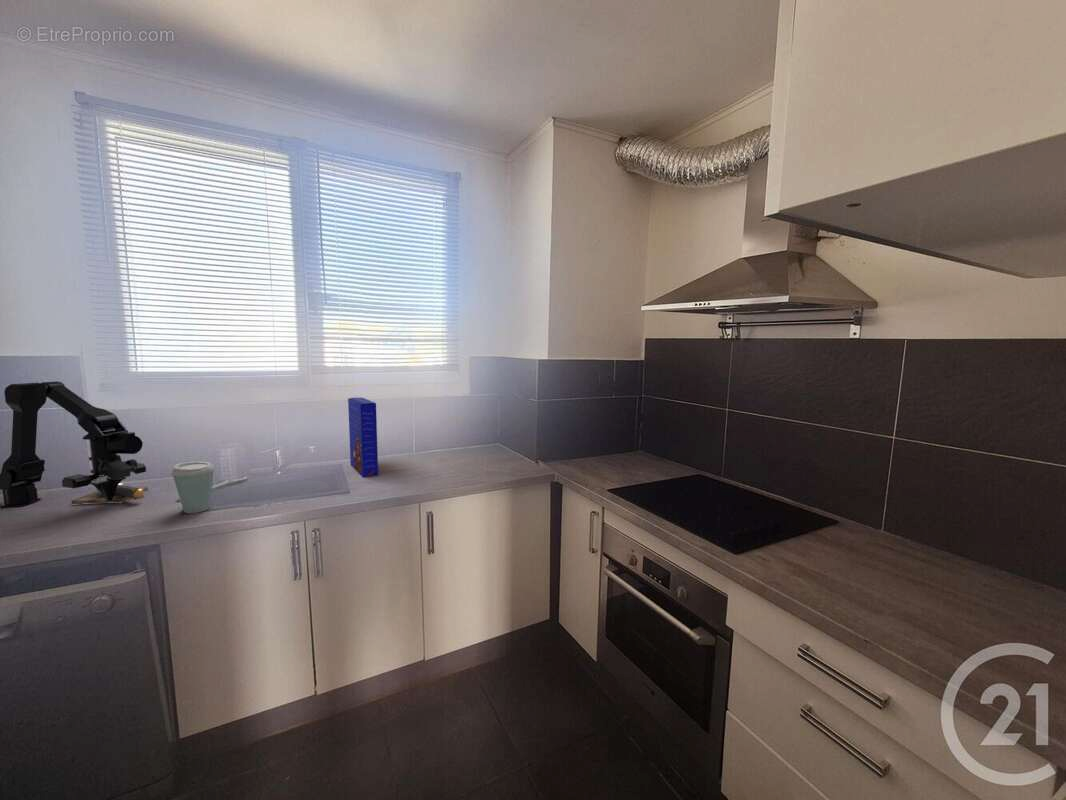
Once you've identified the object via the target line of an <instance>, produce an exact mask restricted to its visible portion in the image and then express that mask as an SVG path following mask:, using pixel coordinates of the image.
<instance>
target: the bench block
mask: <svg viewBox="0 0 1066 800" xmlns="http://www.w3.org/2000/svg"><path fill="white" fill-rule="evenodd" d="M136 488H143V492H145V491H147V492H149V487H148V486H142V487H141V486H140V487H136ZM145 493H146V492H145ZM128 499H130V498H129V497H124V496H120V495H115V494H114V496H113V499H112V500H111V501H107V500H106V499H105V498H104V496H97V494H96V490H95V491H93V492H91V493H88V494H85V495H83V496H79V497H78V498H75V499H73V500H71V505H72V504H83V503H108V502H124V501H126V500H128ZM130 500H131V499H130ZM128 501H129V500H128ZM126 502H127V501H126ZM124 503H125V502H124Z"/></svg>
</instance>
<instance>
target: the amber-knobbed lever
mask: <svg viewBox="0 0 1066 800" xmlns="http://www.w3.org/2000/svg"><path fill="white" fill-rule="evenodd" d="M95 491H96V494H97V496H103V495H102V494H101V493H100V491H99V490H98V489H97V488H96V487H95ZM115 495H120V496H124V497H129V498H132V499H133V500H140V499H144V498H145V493H143V488H136V487H135V486H130V485H127V484H126V482H125V481H124V480H122V481H121V482H120V483H119V484H118V486H117V488H116V491H115Z"/></svg>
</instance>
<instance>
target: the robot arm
mask: <svg viewBox="0 0 1066 800" xmlns="http://www.w3.org/2000/svg"><path fill="white" fill-rule="evenodd" d="M3 392H4V399H5V403H6V405H7V406H8V407H9V408H10V409H11V410H12V427H11V428H12V430H11V450H10V453H11V454H10V455H9V457H8V458H7V459H6V460H5V461H4V462H3V463H2V467H1V471H0V490H2V496H3V504H0V508H14V507H15V506H17V507H25V506H28V505H30V504H32V502H33V503H35V501H36V502H38V500H39V501H41V500H42V497H39V496H38V489H37V487H36V485H35V483H39V482H41V480H42V476H43V473H44V472H45V471H46V469H45V464H46V463H45V462H46V461H45V459H41V458H40V457H39V456H38V455H37V454H36V449H37V431H38V415H39V412H38V411H40V409H42V407H43V406H44V405H45V404H46V402H47V398H48V399H49V400H51V401H53V402H54V403H55V404H57V405H58V406H60V407H61V408H62V409H64V410H65V411H66V412H68V413H70V414H71V415H72V416H73V417H75V418H76V419H77V424H78V425H79V427H81V428H82V430H84V431H85V432H87V434H86V435H84V436H82V440H85V441H86V440H87V441H88V440H89V446H90V447H89V448H90V455H91V456H88V460H89V461H91V464H92V469H90V474H89V475H86V474H73V475H68V476H64V477H63V479H62V481H61V484H62V485H61V486H62V487H63V488H69V489H78V488H82V487H87V486H89V485H92V486H93V487H94V488H95V489H96V488H97V489H98V490H99V491H100V493H101V494H102V495H103V496H104V498H105V499H106V500H107V501H111V500H112V499H113V496H114V494H115V491H116V488H117V486H118V484H119V483H120V482H121V481H124V480H126V478H128V477H130V476H131V473H132V474H133V473H134V474H135V475H139V474H142V473H146V472H147V466H146V465H145V464H144V463H140V462H138V461H137V460H136V459H135V458H134V459H128V460H125V461H123V460H122V457H121V454H122V455H135V454H137V453H139V452H140V451H141V450H142V448H143V443H144V442H143V440H142V438H140V437H139V436H137V435H136V432H135V431H128V429H127V428H126V426H125V425H124V424H123V423H122V422H121V421H120V419H119V418H118V416H117V415H116V414H115V413H113V412H111V411H109V410H107V409H105V408H101V407H96V406H94V405H92V404H91V403H89V402H88V401H86V400H85V399H83V398H82V397H81V396H79V395H77V394H76V393H75V392H73V391H72V390H70V389H69V388H68V387H66V385H65V384H64V382H61V381H56V380H55V381H43V382H24V383H23V382H22V383H11V384H9V385H8V386H6V387H5V389H4V391H3ZM40 499H41V500H40ZM27 504H28V505H27ZM24 505H25V506H24Z"/></svg>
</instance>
